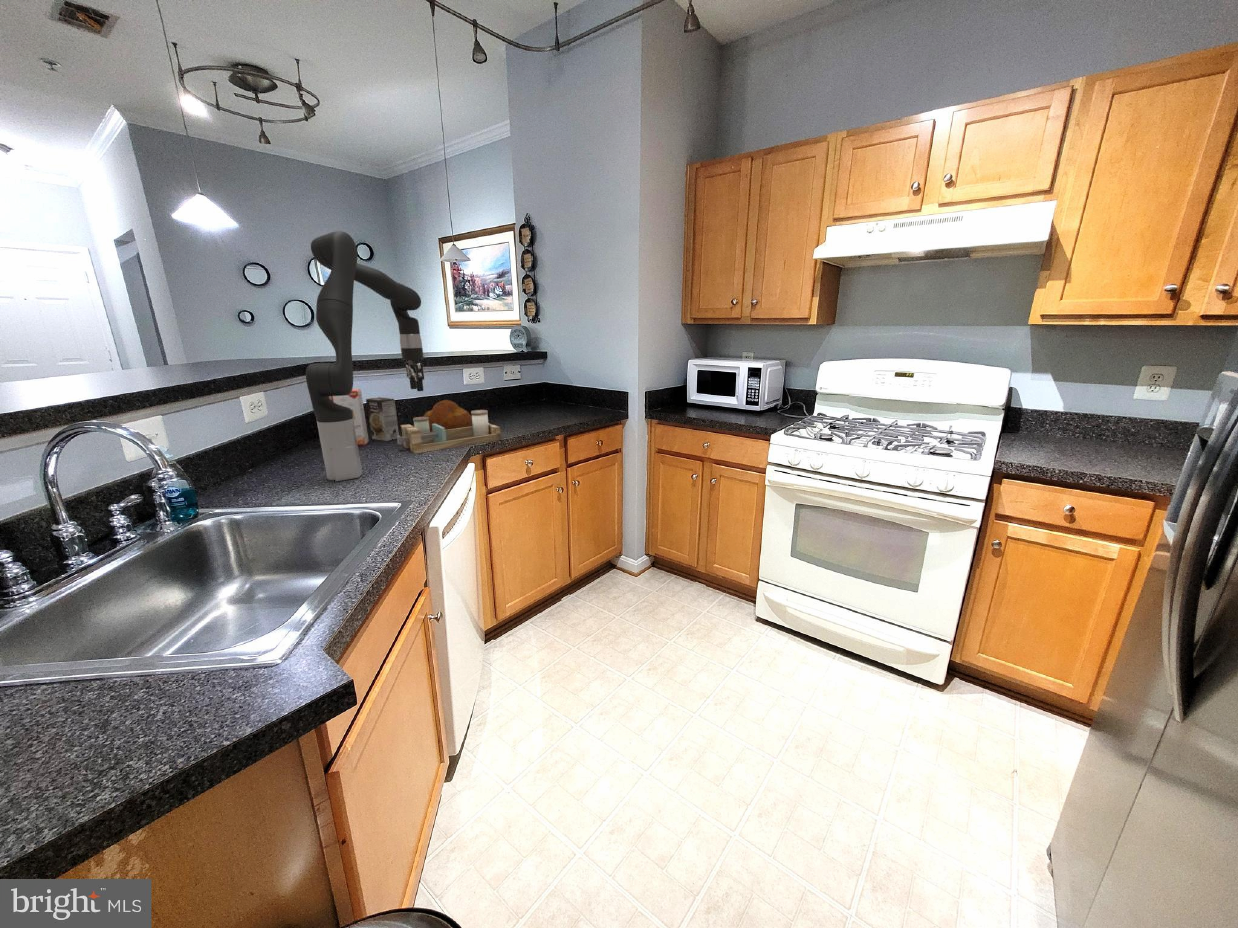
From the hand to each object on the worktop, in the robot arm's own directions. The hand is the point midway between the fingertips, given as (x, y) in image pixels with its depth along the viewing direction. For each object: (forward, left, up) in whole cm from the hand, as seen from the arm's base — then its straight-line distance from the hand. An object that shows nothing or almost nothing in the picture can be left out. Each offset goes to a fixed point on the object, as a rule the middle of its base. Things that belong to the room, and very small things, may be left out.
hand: (417, 390), depth 184 cm
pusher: (-13, +5, -19) cm, 24 cm away
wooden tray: (-13, -7, -20) cm, 25 cm away
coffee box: (+13, +11, -20) cm, 26 cm away
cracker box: (+11, +25, -20) cm, 34 cm away
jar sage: (0, 0, -20) cm, 20 cm away
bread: (+17, -16, -20) cm, 31 cm away
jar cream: (-13, -19, -20) cm, 30 cm away
